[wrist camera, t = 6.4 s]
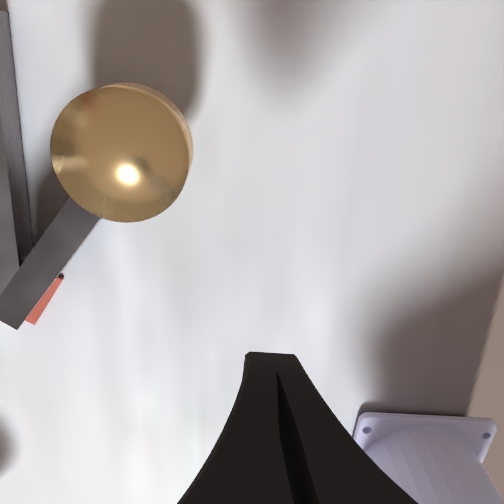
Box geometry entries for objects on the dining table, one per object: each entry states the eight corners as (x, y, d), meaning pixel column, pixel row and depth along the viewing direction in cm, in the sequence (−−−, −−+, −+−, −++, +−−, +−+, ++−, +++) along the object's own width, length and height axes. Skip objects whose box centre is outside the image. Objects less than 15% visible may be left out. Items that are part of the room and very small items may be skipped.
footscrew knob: (127, 53, 17) (98, 54, 13) (219, 129, 18) (215, 150, 15) (-2, 245, 20) (-54, 289, 16) (85, 299, 21) (54, 351, 18)
